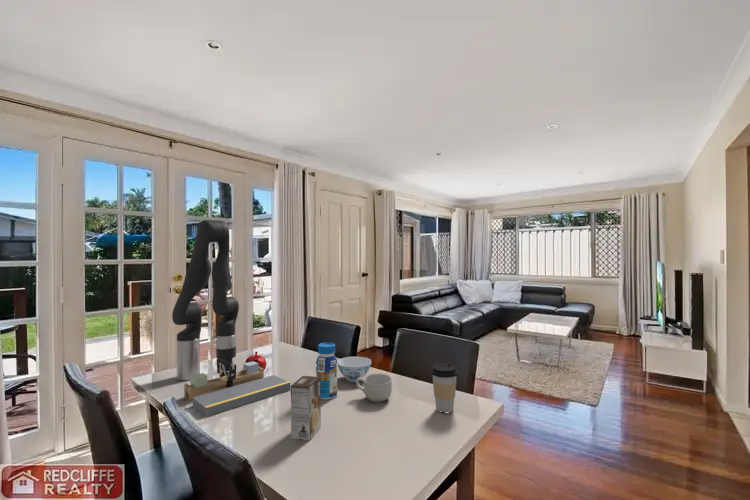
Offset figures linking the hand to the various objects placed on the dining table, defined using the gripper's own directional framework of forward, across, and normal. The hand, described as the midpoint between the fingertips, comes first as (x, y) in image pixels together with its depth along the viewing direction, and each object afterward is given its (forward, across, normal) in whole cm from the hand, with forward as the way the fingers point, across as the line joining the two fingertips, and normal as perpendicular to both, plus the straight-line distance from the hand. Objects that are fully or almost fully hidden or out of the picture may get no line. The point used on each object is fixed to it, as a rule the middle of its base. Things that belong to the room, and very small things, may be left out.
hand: (226, 386), depth 146 cm
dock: (+1, +14, +1) cm, 14 cm away
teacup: (+1, +51, +35) cm, 62 cm away
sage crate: (-4, 0, -11) cm, 11 cm away
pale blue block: (-4, 0, +11) cm, 11 cm away
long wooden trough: (+1, 0, 0) cm, 1 cm away
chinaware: (+1, +30, +44) cm, 53 cm away
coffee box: (+1, +54, +2) cm, 54 cm away
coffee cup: (+1, +76, +45) cm, 88 cm away
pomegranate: (+1, -12, +19) cm, 23 cm away
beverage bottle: (+1, +36, +24) cm, 43 cm away
